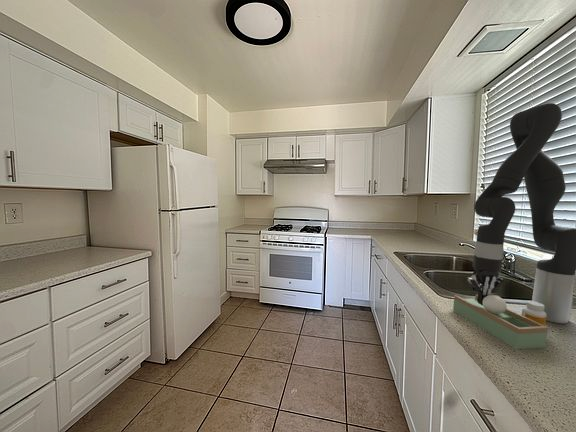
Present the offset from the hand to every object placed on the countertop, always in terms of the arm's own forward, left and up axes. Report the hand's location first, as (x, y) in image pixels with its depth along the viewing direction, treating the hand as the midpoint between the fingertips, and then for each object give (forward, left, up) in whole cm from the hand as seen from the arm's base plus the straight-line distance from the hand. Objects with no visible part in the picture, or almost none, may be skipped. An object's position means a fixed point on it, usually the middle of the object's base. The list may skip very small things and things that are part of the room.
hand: (482, 304), depth 82 cm
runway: (0, +4, -6) cm, 7 cm away
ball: (0, +4, +2) cm, 5 cm away
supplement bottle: (-10, +8, -6) cm, 14 cm away
